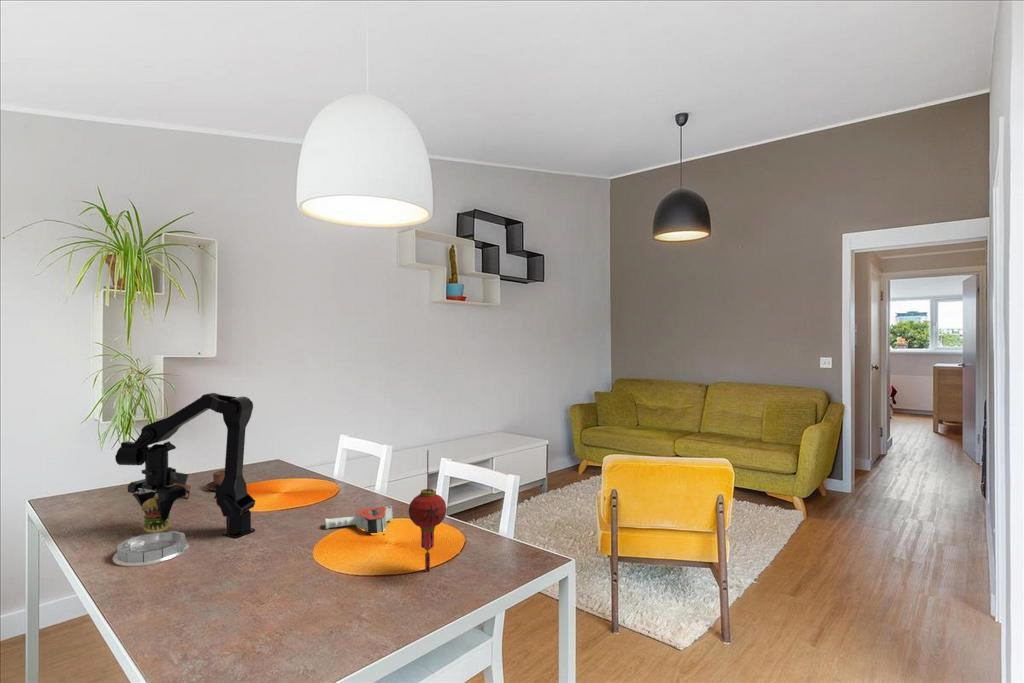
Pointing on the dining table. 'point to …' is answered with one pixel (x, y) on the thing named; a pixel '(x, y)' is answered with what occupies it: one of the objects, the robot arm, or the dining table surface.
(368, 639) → the dining table surface
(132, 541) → the collar
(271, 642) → the dining table surface
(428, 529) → the lantern
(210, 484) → the cup and saucer
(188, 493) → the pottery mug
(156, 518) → the hamburger
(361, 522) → the tape dispenser
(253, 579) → the dining table surface
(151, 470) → the robot arm
